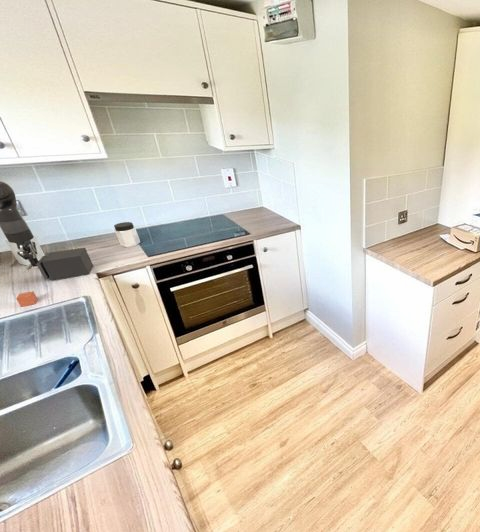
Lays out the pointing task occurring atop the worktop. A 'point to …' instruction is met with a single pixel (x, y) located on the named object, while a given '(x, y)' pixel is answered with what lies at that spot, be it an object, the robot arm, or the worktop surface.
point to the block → (27, 298)
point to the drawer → (40, 267)
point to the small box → (15, 250)
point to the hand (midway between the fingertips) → (36, 265)
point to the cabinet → (67, 263)
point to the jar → (126, 234)
